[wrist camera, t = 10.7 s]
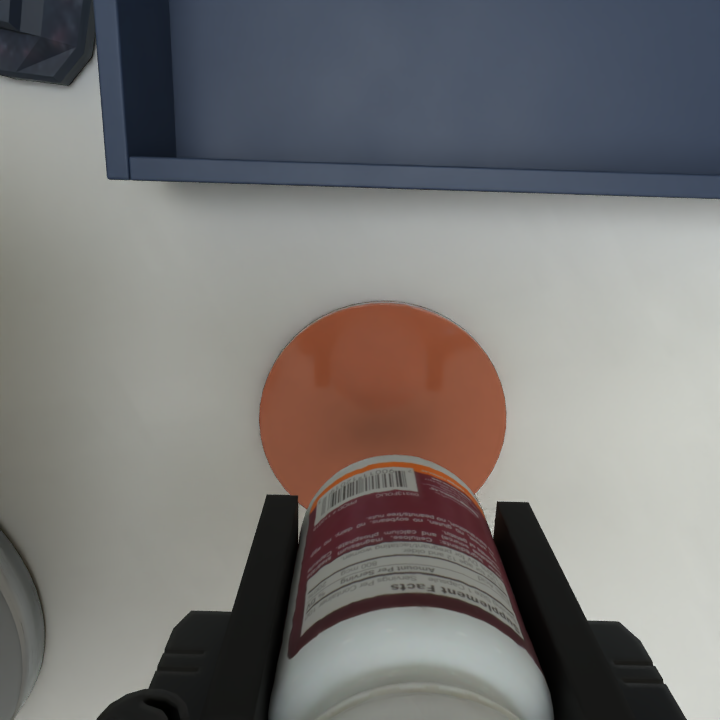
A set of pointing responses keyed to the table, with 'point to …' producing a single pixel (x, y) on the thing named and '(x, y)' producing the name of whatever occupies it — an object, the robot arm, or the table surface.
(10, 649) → the robot arm
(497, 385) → the coaster
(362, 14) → the bin
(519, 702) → the pill bottle
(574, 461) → the table surface
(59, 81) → the wallet
